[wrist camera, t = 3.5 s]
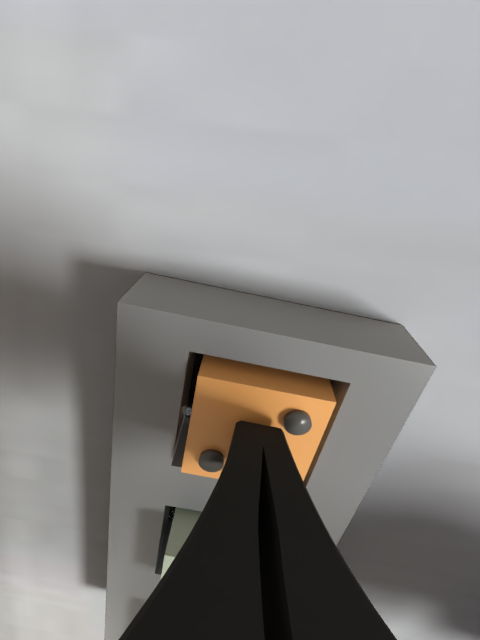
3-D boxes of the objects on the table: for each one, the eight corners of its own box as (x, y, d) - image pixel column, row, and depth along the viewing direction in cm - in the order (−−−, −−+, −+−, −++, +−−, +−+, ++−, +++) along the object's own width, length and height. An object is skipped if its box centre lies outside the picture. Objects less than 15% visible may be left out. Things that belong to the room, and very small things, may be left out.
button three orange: (291, 428, 14) (298, 499, 11) (196, 410, 14) (179, 477, 11) (319, 347, 12) (338, 407, 9) (211, 326, 12) (196, 379, 9)
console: (264, 617, 21) (265, 673, 19) (121, 593, 21) (104, 647, 18) (402, 325, 12) (436, 366, 10) (145, 272, 11) (117, 302, 9)
